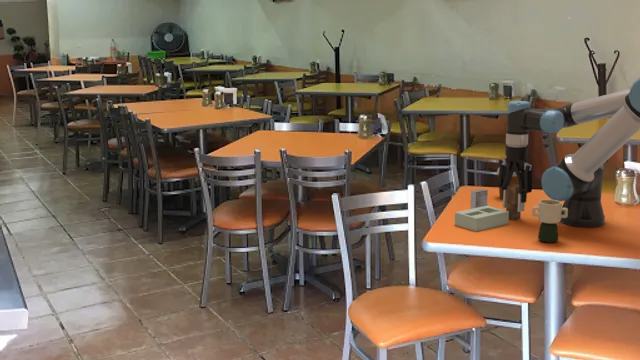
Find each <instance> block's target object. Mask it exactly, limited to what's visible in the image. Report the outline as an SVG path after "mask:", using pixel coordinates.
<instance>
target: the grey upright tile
mask: <svg viewBox="0 0 640 360" xmlns="http://www.w3.org/2000/svg"><path fill="white" fill-rule="evenodd" d="M488 192H489V190H488V189H485V188H479V189H475V190H471V191H470V209H473V208H478V207H483V206H488V194H489V193H488Z"/></svg>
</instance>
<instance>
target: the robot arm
mask: <svg viewBox="0 0 640 360" xmlns="http://www.w3.org/2000/svg"><path fill="white" fill-rule="evenodd" d="M607 118H609V119H608V120H607V121H606V122H604V124H603V125H602V126H601V127H600V128H599V129H598V130H597V131H596V132H595V133H594V134H593V135H592V136H591V137H590V138H589V139H587V140H586V142H585V143H584V144H583V145H582V146H580V147H579V148H578V150H577V151H576V152H575V153H573V154H572V153H569V154H566V155H565V156H564V157H563V158H562V159H561V160H560V161H559V162H558V163H557V164H555V166H551V167H549V168H547V169H546V170H545V171H544V172H543V173H542V175H541V187H542V191H543V192H544V194H545V195H546V196H547V197H548V198H549V199H552V200H558V201H561V202H563V203H562V208H568V216H567V218H561V220H560V222H561V223H563V224H566V225H569V226H572V227H573V226H574V227H578V228H579V227H580V228H597V227H602V226H603V225H604V224H605V223H606V216H605V212H604V209H603V205H602V192H603V191H602V189H603V178H604V171H605V168H604V163H606V162H607V161H608V160H609V159H610V158H611V157H612V156H613V155H614V154H615V153H616V152H618V151H619V150H620V149H621V148H622V147H624V145H626V143H627V142H629V140H631V139H632V138H633V136H634V135H636V134H637V133H638V132H640V77H639V78H637V79H636V80H635V81H634V82H633V83H632V85H631V87H630V88H627V89H623V90H619V91H615V92H611V93H608V94H604V95H600V96H597V97H592V98H588V99H585V100H582V101H578V102H574V103H569V104H566V105H562V106H561V105H560V106H558V107H551V108H545V109H544V108H543V109H542V108H532V107H531V103H530V101H526V100H511V101H509V102H508V105H507V113H506V133H505V144H506V145H505V152H504V155H505V159H499V160H498V164H499V167H498V168H499V178H498V177H497V180H498V181H497V186H498V188H499V187H501V188H502V198H503V199H502V209H503V208H504V209H506V201H507V185H510V182H511V179H512V176H513V173H514V172H516V175H517V177H518V183H519V188H520V193H519V194H518V212H524V211H525V206H526V205H525V204H526V202H527V195H528V193H532V191H533V169H534V165H533V164H529V163H528V162H527V157H528V153H529V152H528V151H529V150H528V148H529V147H528V145H529V132H530V131H535V132H544V133H547V134H550V133H551V134H552V133H553V134H556V133H559V132H560V131H561V130H562V129H564V128H566V129H567V128H571V127H574V126H578V125H582V124H586V123H591V122H595V121H598V120H603V119H607ZM564 213H565V211H562V212H561V215H564Z"/></svg>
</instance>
